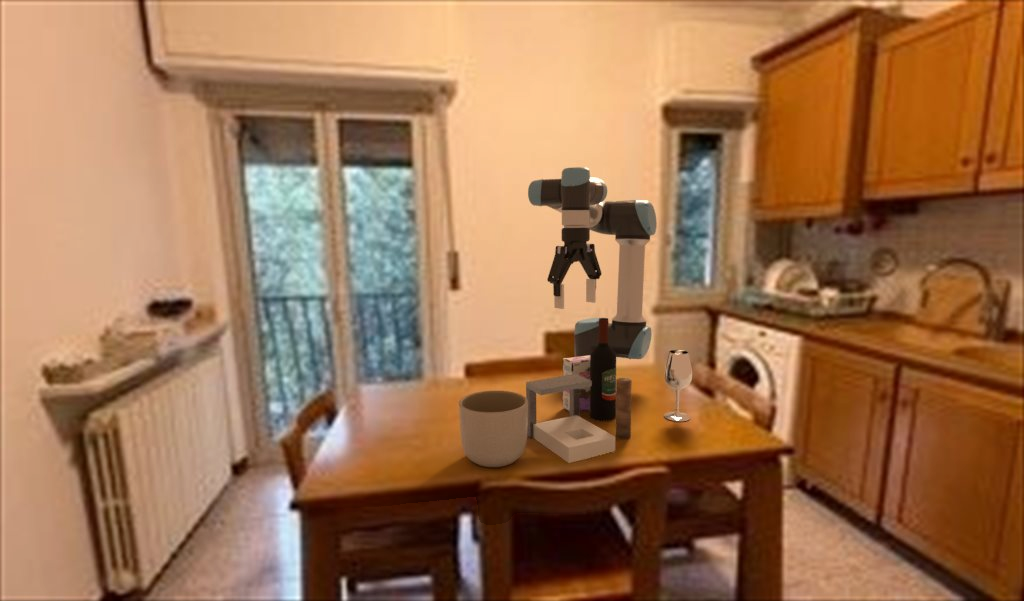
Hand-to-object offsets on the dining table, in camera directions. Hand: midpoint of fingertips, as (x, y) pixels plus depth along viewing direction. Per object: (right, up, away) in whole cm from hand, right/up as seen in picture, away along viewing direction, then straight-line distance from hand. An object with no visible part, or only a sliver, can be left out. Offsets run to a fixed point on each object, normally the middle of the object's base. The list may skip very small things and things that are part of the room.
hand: (575, 305), depth 154 cm
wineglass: (+32, -34, +14) cm, 48 cm away
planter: (-22, -39, -12) cm, 46 cm away
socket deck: (-1, -37, -4) cm, 37 cm away
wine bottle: (+10, -34, +15) cm, 39 cm away
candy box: (+6, -33, +23) cm, 41 cm away
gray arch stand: (-4, -36, +2) cm, 36 cm away
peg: (+13, -36, 0) cm, 38 cm away
